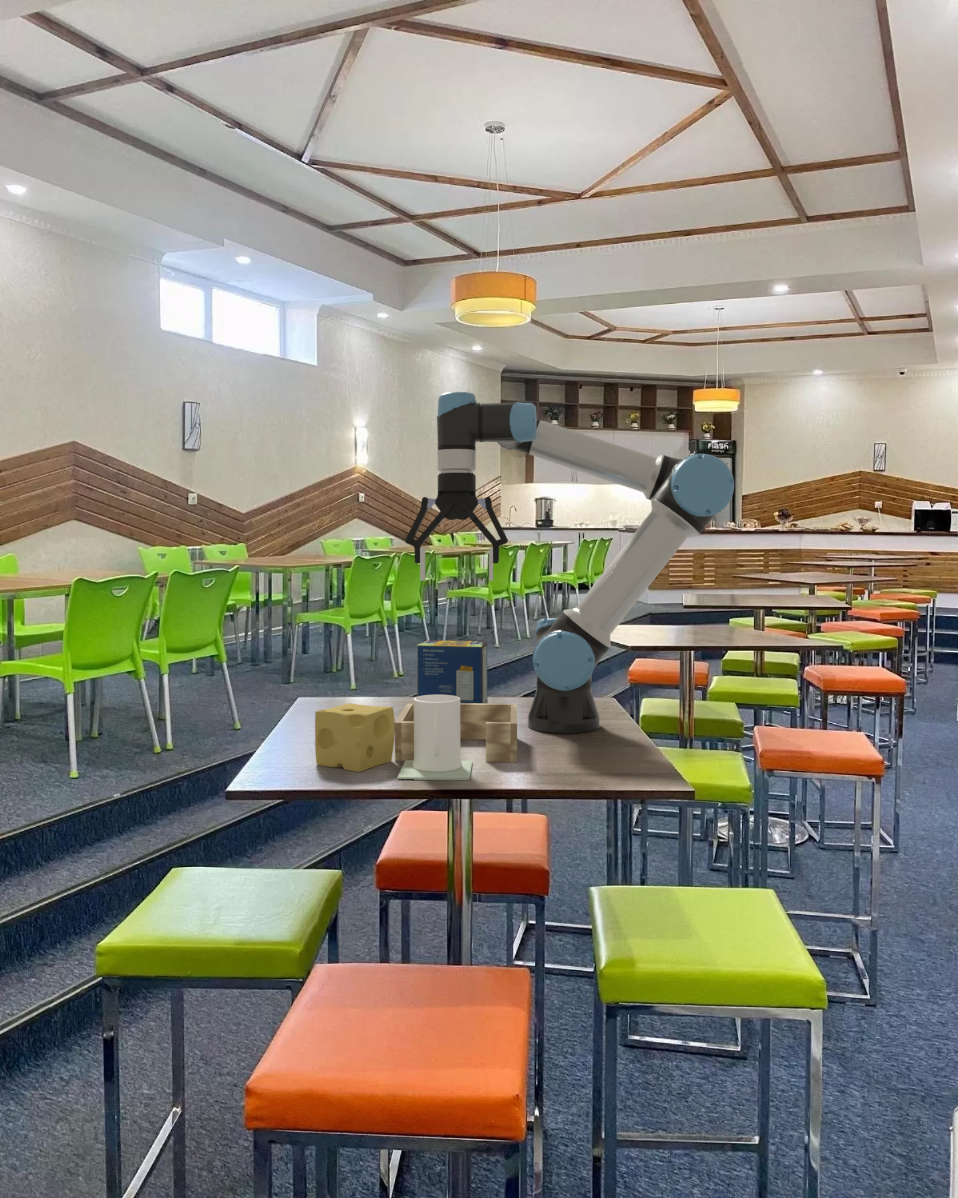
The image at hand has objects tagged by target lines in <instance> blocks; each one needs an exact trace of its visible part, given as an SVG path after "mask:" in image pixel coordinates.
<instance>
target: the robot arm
mask: <svg viewBox="0 0 958 1198" xmlns="http://www.w3.org/2000/svg"><path fill="white" fill-rule="evenodd" d="M437 401H438V403H437V415H436V426H437V427H436V429H437V432H436V433H437V451H436V452H437V453H436V454H437V470H438V472H440V473H438V475H437V496H436V498H431V497H430V498H429V497H426V496H424V497H422V499H421V502H420V503H421V504H420V509H419V512H418V513H417V516H416V517H415V519H414V522H413V523H412V526H411V528H410V530H409V531H408V534H407V536H406V537H405V543H406V545H407V544H408V545H410V546H412V547H413V548H414V563H415V564H419V565H420V566H419V569H420V570H419V580H420V581H426V547H422V545H423V544H424V543H425V541H426V540H427V539H428V538H429V537H430V536H431V535H432V533H434V531H435V530H436V529H437V528H438V526H439V525H440V524H441V523H442V522H443V520H445V519H447V520H449V521H454V520H460V521H465V520H467V519H468V518H469V519H470V520H471V522H472V523H473V524H474V525H475V526H476V527H477V529H478V530H479V531H480V532H481V533H482V534H483V536H484V537H485V538H486V539H487V540H488V542H490V544H491V545H492V546H490V547H488V553H489V554H488V581H494V564H499V561H500V547H501V546H504V545H506V544H507V543H508V542H509V539H508V538H507V535H506V533H505V531H504V529H503V527H502V525H501V523H500V522H499V519H498V517H497V515H496V513H495V511H494V509H493V504H492V503H493V502H492V498H491V497H490V496H487V497H485V498H484V497H483V498H477V496H476V495H477V494H476V493H477V489H476V487H477V486H476V485H477V484H476V483H477V482H476V481H477V480H476V479H477V478H476V477H477V476H476V475H475V473H474V472H475V471H476V468H477V467H476V463H477V462H476V461H477V458H476V456H477V455H476V452H477V451H476V450H477V449H476V445H477V444H476V443H497V444H498V445H499V446H500V447H501V448H505V449H507V450H510V451H511V450H514V451H517V452H520V453H523V454H527V455H530V456H533V457H536V458H539V459H542V460H545V461H548V462H552V463H554V464H557V465H561V466H563V467H566V468H569V469H573V470H575V471H578V472H580V473H584V474H587V475H590V476H593V477H596V478H599V479H601V480H604V481H608V482H610V483H614V484H617V485H620V486H623V487H626V488H629V489H631V490H632V489H633V490H635V491H638V492H640V493H642V494H643V495H644V497H645V499H647V500H649V501H650V503H651V510H650V513H649V514H648V515H647V516H646V518H645V519H644V520H643V521H642V522H641V524H640V525H639V526H638V528H637V529H636V531H635V532H634V533H633V534H632V535H631V537H629V539H628V541H626V543H625V545H624V546H623V547H622V548H621V550H620V551H619V552H618V553H617V555H616V556H615V557H614V558H613V560H611V562H610V564H608V566H607V567H606V569H605V570H604V571H603V573H602V574H601V575H600V576H599V577H598V579H597V580H596V581H595V582H594V584H593V585H592V586H591V588H590V589H589V590H588V591H587V593H586V594H585V595H584V596H583V598H582V599H581V600H580V601H579V603H578V604H577V605H576V607H574V608H568V609H563V611H562V612H561V614H559V616H558V617H557V618H553V617H552V618H541V619H539V620H538V621H537V623H536V630H535V635H536V646H535V647H534V650H533V654H532V665H533V669H534V671H535V673H536V688H535V689H536V691H535V694H534V697H533V701H532V703H531V707H530V709H529V712H528V716H527V719H528V720H527V721H528V722H527V726H528V727H529V728H530V729H532V730H535V731H540V732H546V733H555V734H581V733H588V732H594V731H596V730H598V729H599V728H600V719H601V718H600V714H599V710H598V708H597V705H596V701H595V698H594V695H593V692H592V691H593V690H592V674H593V673H594V669H595V667H596V666H597V665H598V663H599V662H600V661H601V660H602V658H603V657H604V656H605V655H606V653H607V652H608V651H609V649H610V648H611V647H612V644H611V634H613V632H614V631H615V629H616V628H617V627H618V626H619V625H620V623H621V622H622V621H623V619H624V618H625V617H626V615H628V613H629V612H630V610H632V608H633V607H634V606H635V605H636V603H637V602H638V600H639V599H640V598H641V596H642V595H643V594H644V593H645V592H646V590H647V589H648V588H649V586H651V584H652V583H653V581H654V580H655V579H656V578H657V576H658V575H659V574H660V573H661V572H662V571H663V569H664V568H665V567H666V565H667V564H668V563H669V561H670V560H671V559H672V558H673V557H674V555H675V554H676V552H677V551H678V550H679V549H680V548H681V546H682V545H683V544H684V543H685V542H686V540H687V539H688V538H693V537H699V536H700V535H701V534H702V532H704V530H706V527H708V525H709V524H710V523H711V521H712V520H713V519H714V517H716V515H717V514H719V513H720V512H722V511H723V510H724V509H725V508H726V507H727V506H728V505H729V503H730V502H731V500H732V497H733V495H734V490H735V479H734V475H733V473H732V470H731V469H730V467H729V466H728V465H727V464H726V463H725V462H724V461H723V460H722V459H720V458H719V457H718V456H715V455H711V454H707V453H694V454H691V455H689V456H687V457H685V458H678V457H677V458H676V457H671V456H668V455H665V454H660V455H658V456H655V457H654V456H652V455H648V454H646V453H642V452H640V451H636V450H635V449H634V450H633V449H630V448H627V447H624V446H621V445H617V444H615V443H612V442H608V441H606V440H602V439H601V438H596V437H593V436H590V435H588V434H584V433H581V432H579V431H575V430H572V429H569V428H566V427H563V426H561V425H557V424H553V423H551V422H548V421H544V420H542V419H538V418H537V406H536V404H534V403H531V402H520V401H516V402H506V403H505V402H497V403H495V402H494V403H492V402H491V403H489V402H488V403H483V402H482V403H480V402H477V401H478V400H477V399H476V395H475V393H472V392H468V391H465V392H464V391H463V392H462V391H448V392H444V393H442V394H440V395H439V397H438V399H437ZM434 505H435V506H436V508H438V510H439V512H438V514H437V515H436V516H435V518H433V520H432V521H431V522H430V524H429V525H428V526H427V527H426V528H425V529H424V531H423V532H422V533H421V535H420V536H418V538H417V539H415V538H416V535H417V533H418V532H419V529H420V527H421V525H422V523H423V521H424V519H425V517H426V515H427V513H428V510H430V509H432V507H433V506H434ZM478 505H480V506H481V508H482V509H484V510H486V512H487V514H488V516H489V519H490V521H491V523H492V524H493V527H494V529H495V531H496V533H497V535H498V536H499V539H498V540H497V539H496V537H495V536H494V535H493V534H492V533H491V531H490V530H489V529H488V528H487V527H486V526H485V524H484V523H483V522H482V521H481V520H480V518H479V517H478V516H477V515H476V513H474V511H475V509H476V508H477V507H478Z"/></svg>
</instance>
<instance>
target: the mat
mask: <svg viewBox="0 0 958 1198" xmlns="http://www.w3.org/2000/svg"><path fill="white" fill-rule="evenodd" d="M403 762H404V763H403V765H402V767H401V769H400V771H399V772H398V775H397V777H396V779H405V780H406V779H414V780H415V781H417V780H418V781H470V777H471V773H472V772H471V771H472V767H473V760H461V763H462V766H461V767H460V768H459V769H457V770H453V771H447V772H426V771H420V770H417V769H415V768H414V767H413V762H414V760H405V761H403ZM406 781H407V780H406Z"/></svg>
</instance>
